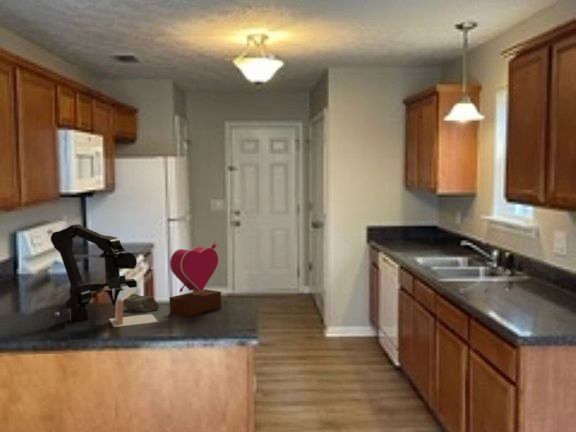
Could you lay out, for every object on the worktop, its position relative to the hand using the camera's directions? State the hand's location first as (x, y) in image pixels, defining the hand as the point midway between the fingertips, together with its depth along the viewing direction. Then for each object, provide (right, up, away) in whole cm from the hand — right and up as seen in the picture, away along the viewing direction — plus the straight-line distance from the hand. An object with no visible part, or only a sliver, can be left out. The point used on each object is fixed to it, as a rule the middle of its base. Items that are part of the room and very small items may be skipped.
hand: (113, 305), depth 250 cm
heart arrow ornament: (+32, -6, +21) cm, 39 cm away
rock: (+6, -6, +23) cm, 25 cm away
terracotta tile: (+2, -7, +1) cm, 7 cm away
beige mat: (+7, -7, +4) cm, 11 cm away
